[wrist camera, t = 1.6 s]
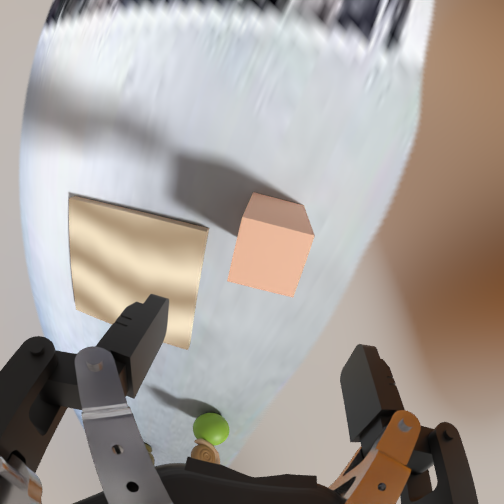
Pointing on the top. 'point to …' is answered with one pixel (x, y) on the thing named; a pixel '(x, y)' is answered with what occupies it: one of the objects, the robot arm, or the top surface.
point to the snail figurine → (209, 436)
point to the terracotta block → (271, 245)
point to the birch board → (134, 263)
